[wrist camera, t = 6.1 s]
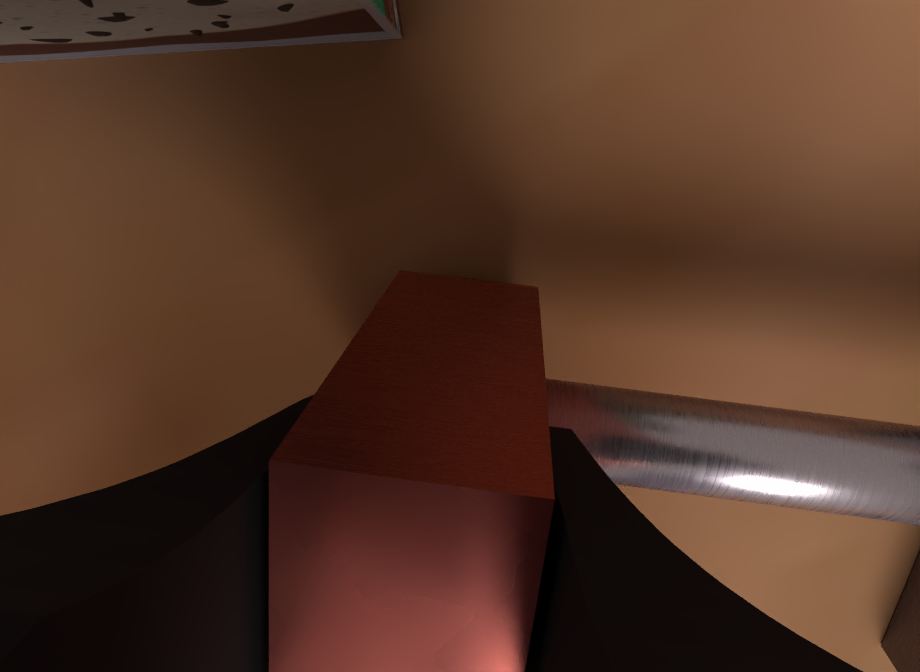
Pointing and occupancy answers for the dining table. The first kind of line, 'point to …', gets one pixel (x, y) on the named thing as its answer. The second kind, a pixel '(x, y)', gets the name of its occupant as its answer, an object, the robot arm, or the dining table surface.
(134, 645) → the robot arm
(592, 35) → the dining table surface
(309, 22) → the food container
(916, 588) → the eye bracket
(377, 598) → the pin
